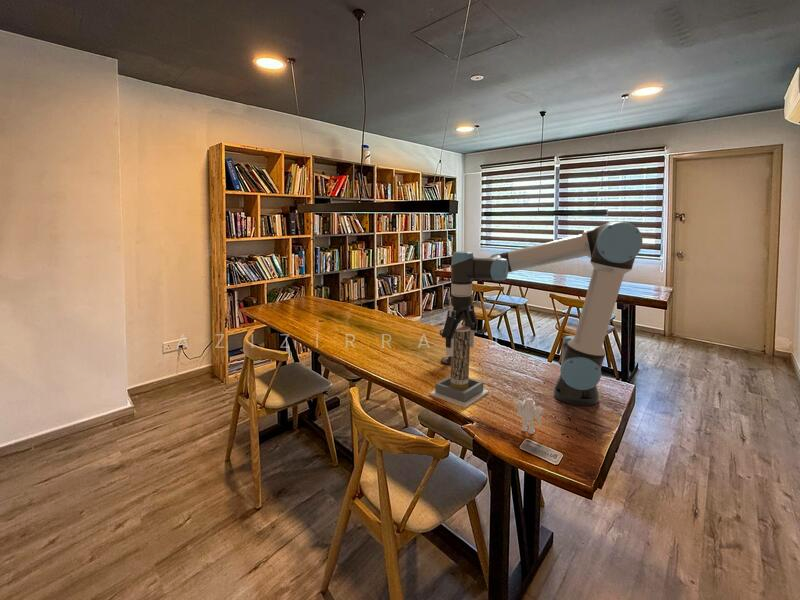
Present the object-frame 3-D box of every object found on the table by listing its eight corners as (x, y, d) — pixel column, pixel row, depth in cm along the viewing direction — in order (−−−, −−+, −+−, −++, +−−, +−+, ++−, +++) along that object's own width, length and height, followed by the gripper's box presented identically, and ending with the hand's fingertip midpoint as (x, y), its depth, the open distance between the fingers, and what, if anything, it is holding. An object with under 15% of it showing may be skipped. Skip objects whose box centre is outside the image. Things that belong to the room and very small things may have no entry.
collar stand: (488, 393, 150) (489, 382, 149) (465, 408, 139) (465, 396, 138) (453, 381, 161) (454, 371, 160) (429, 394, 149) (429, 383, 148)
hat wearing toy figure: (511, 428, 125) (513, 393, 123) (517, 423, 128) (519, 389, 126) (539, 438, 119) (542, 402, 117) (544, 433, 122) (547, 397, 120)
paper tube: (455, 385, 154) (457, 324, 149) (471, 390, 150) (473, 327, 145) (446, 391, 149) (448, 328, 144) (462, 396, 145) (464, 331, 140)
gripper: (471, 288, 153) (469, 340, 158) (431, 298, 135) (431, 357, 140) (488, 290, 148) (486, 344, 153) (449, 301, 130) (449, 362, 135)
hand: (460, 350), depth 146 cm, fingers open, 13 cm apart
